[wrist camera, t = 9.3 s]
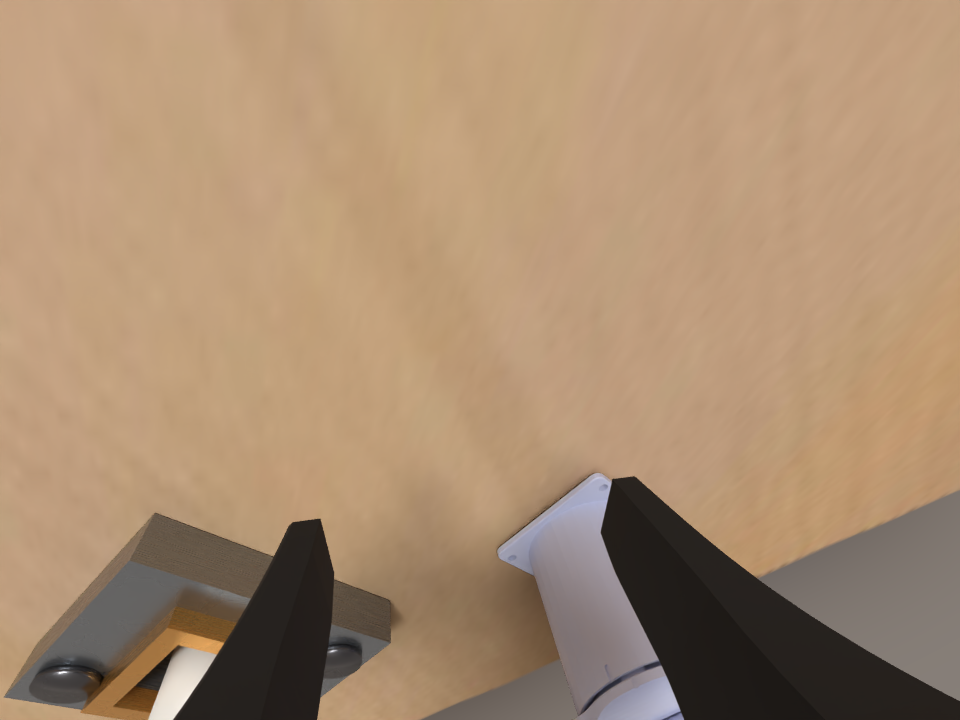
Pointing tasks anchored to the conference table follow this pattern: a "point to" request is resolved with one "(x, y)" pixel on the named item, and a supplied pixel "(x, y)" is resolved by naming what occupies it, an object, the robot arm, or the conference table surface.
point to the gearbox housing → (172, 622)
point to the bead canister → (180, 681)
